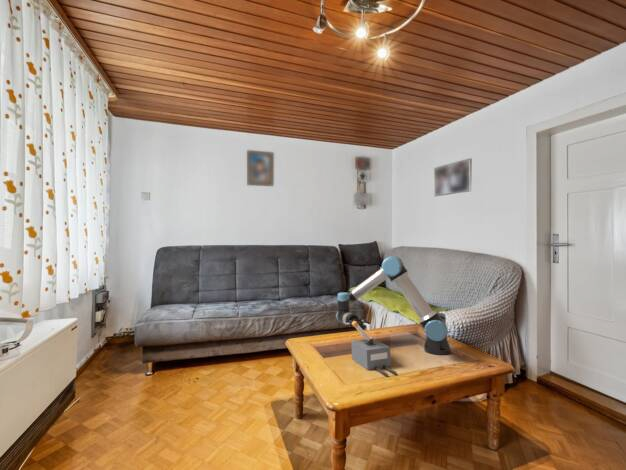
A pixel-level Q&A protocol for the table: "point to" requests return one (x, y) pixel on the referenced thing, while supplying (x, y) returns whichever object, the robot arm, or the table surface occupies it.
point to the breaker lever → (362, 332)
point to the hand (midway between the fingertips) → (370, 327)
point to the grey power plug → (372, 355)
